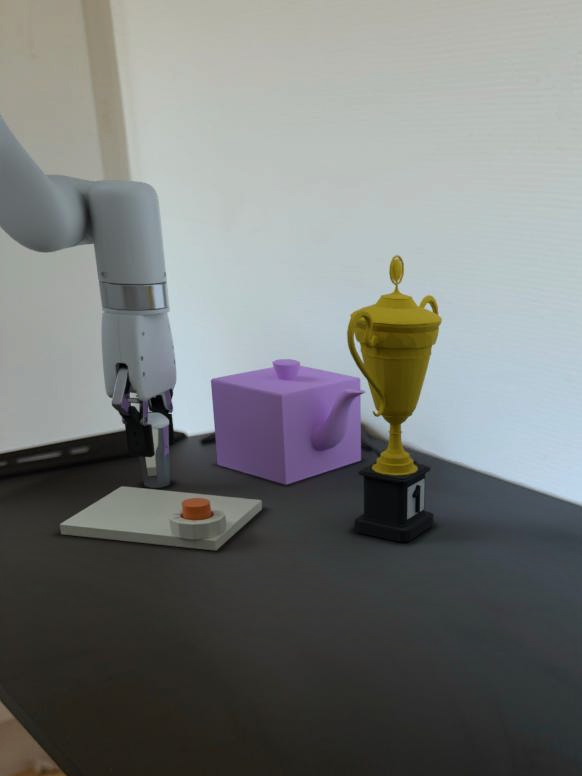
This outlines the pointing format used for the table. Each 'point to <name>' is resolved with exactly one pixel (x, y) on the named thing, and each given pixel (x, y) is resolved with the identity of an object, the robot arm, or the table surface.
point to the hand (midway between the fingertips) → (152, 448)
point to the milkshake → (157, 454)
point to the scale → (161, 518)
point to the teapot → (287, 421)
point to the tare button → (196, 509)
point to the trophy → (394, 405)
